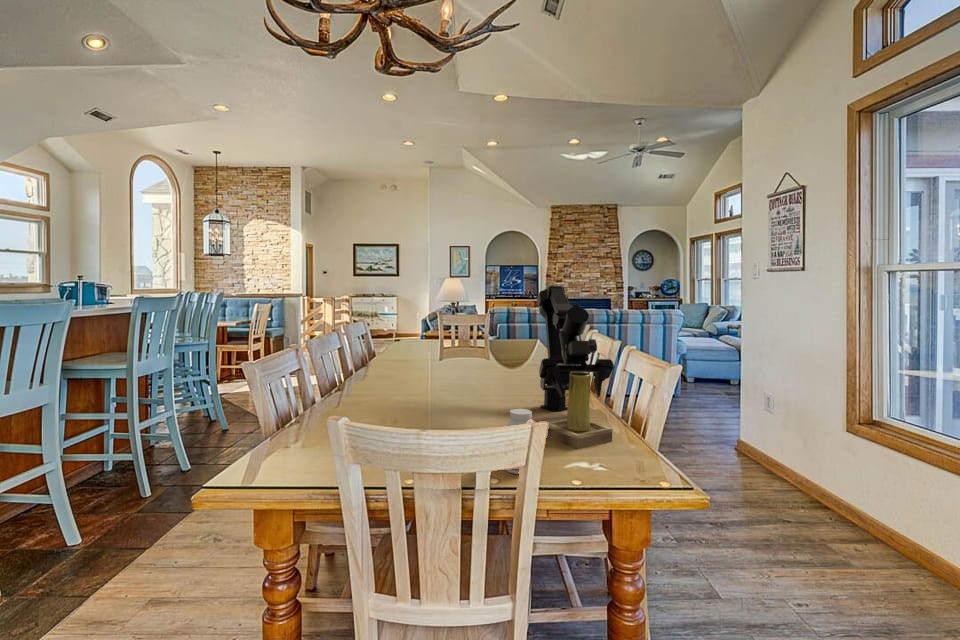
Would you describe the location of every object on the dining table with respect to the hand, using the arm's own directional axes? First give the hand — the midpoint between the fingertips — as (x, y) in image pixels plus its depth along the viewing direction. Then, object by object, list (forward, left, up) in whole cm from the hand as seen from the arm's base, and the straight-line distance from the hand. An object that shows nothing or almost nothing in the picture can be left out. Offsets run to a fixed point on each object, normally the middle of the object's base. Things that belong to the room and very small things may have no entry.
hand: (581, 396), depth 132 cm
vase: (-1, +1, -9) cm, 9 cm away
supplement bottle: (+9, -25, -12) cm, 29 cm away
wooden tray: (-5, +1, -11) cm, 13 cm away
